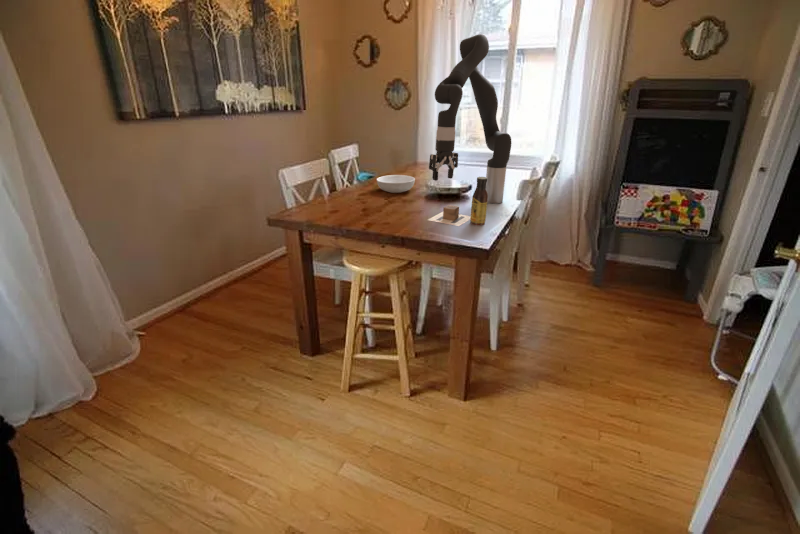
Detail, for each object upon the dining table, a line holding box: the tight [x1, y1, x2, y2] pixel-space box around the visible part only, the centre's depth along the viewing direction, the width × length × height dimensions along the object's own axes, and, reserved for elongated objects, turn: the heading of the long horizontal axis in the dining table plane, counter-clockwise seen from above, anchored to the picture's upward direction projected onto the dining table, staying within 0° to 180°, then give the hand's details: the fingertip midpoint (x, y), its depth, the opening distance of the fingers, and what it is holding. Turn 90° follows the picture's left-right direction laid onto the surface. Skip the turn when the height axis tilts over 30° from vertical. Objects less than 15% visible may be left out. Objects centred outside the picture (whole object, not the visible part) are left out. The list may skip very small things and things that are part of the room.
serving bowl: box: [376, 174, 416, 194], centre depth 219 cm, size 21×21×7 cm
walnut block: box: [442, 204, 460, 221], centre depth 172 cm, size 5×5×5 cm
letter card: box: [427, 211, 471, 227], centre depth 173 cm, size 15×15×1 cm
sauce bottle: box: [469, 176, 488, 227], centre depth 163 cm, size 7×6×20 cm
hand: (442, 179), depth 166 cm, fingers open, 8 cm apart
